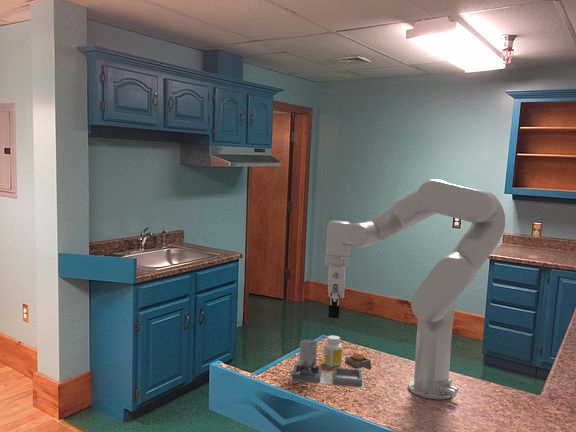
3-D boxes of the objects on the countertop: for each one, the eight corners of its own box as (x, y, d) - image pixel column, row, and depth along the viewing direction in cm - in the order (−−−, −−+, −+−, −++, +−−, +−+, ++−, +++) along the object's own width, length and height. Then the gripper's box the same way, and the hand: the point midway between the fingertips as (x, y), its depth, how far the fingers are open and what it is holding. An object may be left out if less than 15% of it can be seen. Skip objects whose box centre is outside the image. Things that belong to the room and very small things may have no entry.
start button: (366, 359, 158) (366, 353, 158) (357, 361, 156) (357, 355, 156) (359, 355, 161) (359, 350, 161) (350, 357, 159) (350, 351, 159)
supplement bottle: (342, 365, 159) (344, 336, 158) (338, 371, 154) (340, 341, 153) (326, 363, 161) (327, 333, 160) (321, 368, 156) (323, 338, 155)
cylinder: (318, 376, 146) (320, 343, 145) (304, 379, 143) (306, 346, 143) (309, 370, 150) (310, 338, 150) (295, 373, 148) (296, 340, 147)
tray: (362, 377, 150) (362, 368, 150) (363, 390, 140) (364, 381, 140) (293, 371, 152) (293, 363, 152) (290, 384, 142) (290, 375, 142)
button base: (371, 368, 158) (371, 360, 158) (356, 371, 155) (357, 363, 155) (359, 361, 163) (359, 354, 163) (344, 364, 160) (345, 357, 160)
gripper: (349, 265, 146) (345, 322, 147) (348, 256, 163) (345, 307, 164) (324, 263, 147) (320, 320, 148) (326, 255, 164) (322, 305, 165)
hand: (333, 313), depth 156 cm, fingers open, 9 cm apart
